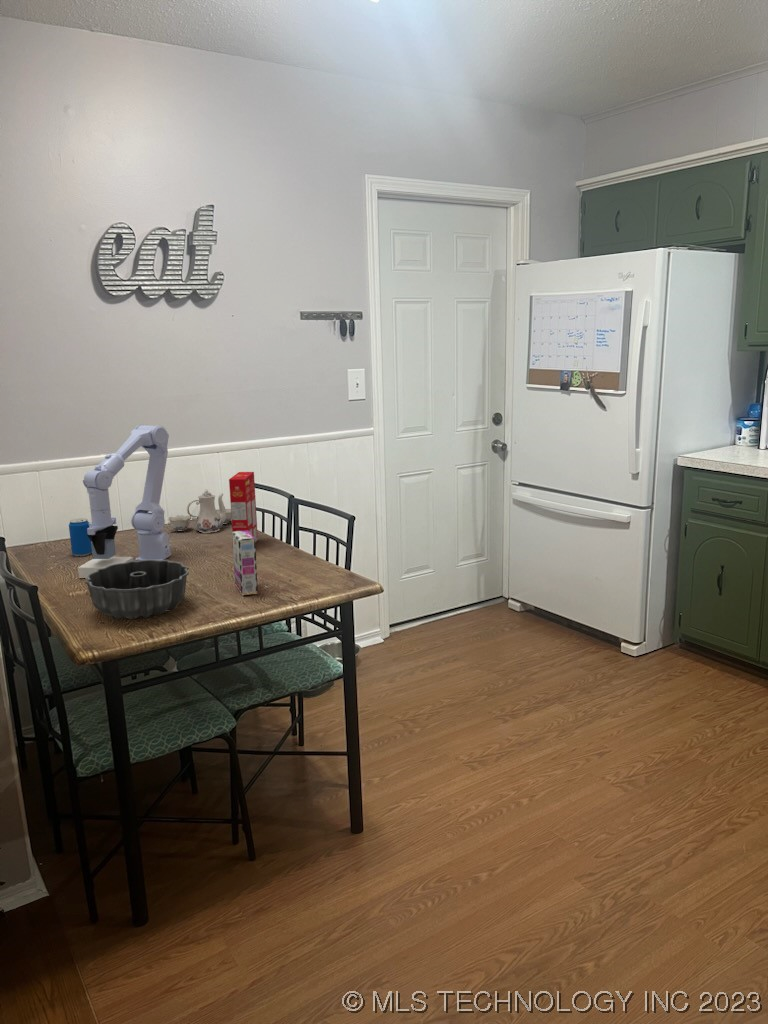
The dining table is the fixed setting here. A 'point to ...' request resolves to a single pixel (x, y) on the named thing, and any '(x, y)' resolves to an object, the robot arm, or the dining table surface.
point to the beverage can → (79, 537)
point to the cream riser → (100, 565)
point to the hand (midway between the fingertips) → (104, 551)
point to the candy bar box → (245, 561)
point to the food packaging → (243, 503)
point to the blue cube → (108, 551)
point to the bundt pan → (138, 588)
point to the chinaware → (204, 515)
